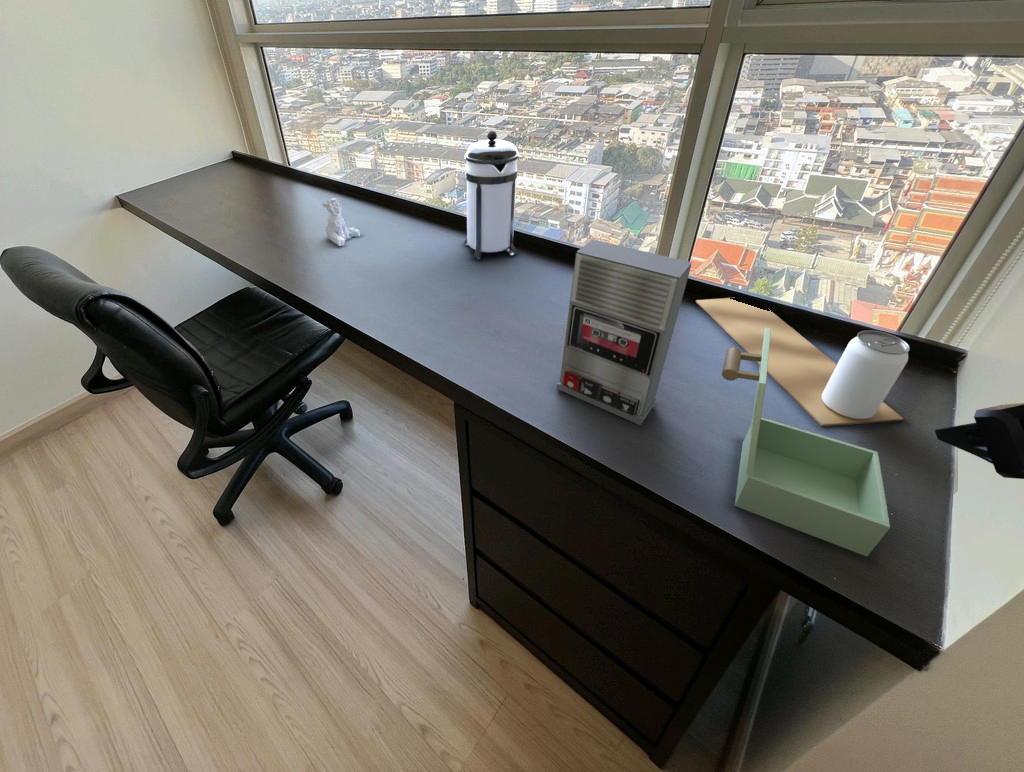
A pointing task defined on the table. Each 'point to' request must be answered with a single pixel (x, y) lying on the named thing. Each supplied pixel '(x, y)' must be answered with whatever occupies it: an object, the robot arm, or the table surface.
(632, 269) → the cassette tape recorder
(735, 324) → the tan flat long board
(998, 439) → the robot arm
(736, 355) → the chest lid
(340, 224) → the sitting furry creature
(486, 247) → the coffee press
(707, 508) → the table surface
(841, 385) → the can
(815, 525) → the chest
